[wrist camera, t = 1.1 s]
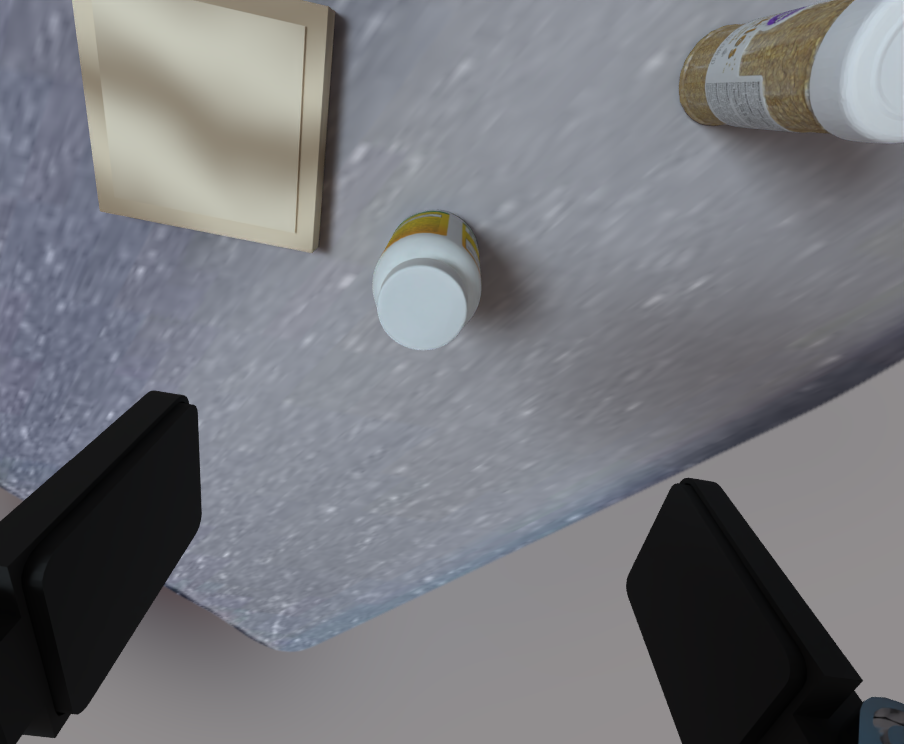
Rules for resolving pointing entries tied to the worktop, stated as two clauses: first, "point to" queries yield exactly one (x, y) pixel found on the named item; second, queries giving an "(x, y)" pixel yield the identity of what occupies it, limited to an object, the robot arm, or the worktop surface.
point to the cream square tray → (210, 113)
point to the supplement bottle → (428, 280)
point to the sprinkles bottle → (804, 72)
